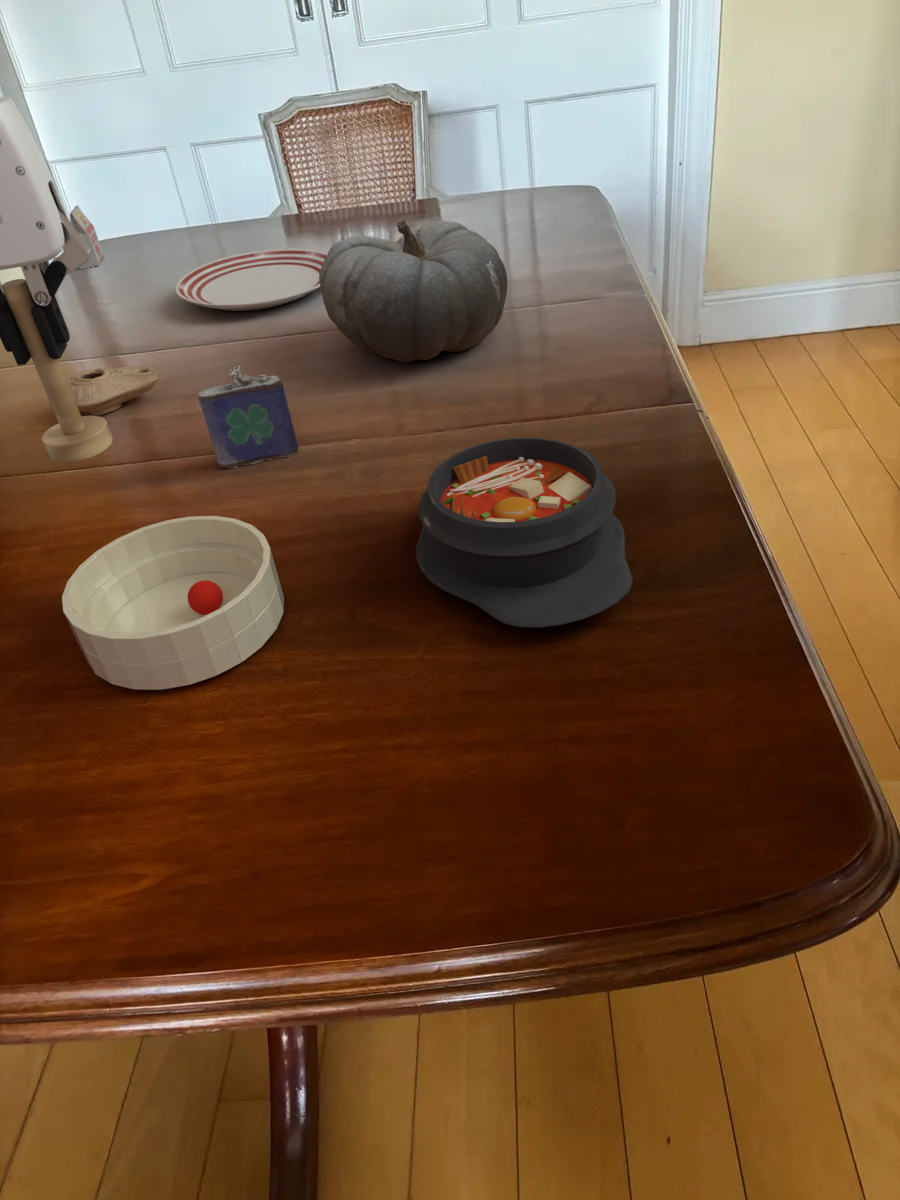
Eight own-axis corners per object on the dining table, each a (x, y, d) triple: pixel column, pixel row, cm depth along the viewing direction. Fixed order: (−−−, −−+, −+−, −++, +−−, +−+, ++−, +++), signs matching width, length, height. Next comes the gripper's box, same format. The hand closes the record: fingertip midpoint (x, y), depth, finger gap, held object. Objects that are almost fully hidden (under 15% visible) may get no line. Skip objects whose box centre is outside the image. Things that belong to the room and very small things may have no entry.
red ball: (191, 624, 78) (181, 596, 76) (194, 603, 80) (185, 576, 78) (225, 618, 78) (216, 591, 76) (228, 597, 80) (219, 570, 78)
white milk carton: (79, 269, 174) (60, 215, 168) (85, 259, 179) (67, 206, 173) (98, 266, 174) (80, 212, 168) (104, 256, 179) (86, 203, 173)
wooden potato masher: (43, 467, 72) (-32, 300, 64) (56, 438, 76) (-13, 277, 68) (107, 456, 72) (41, 287, 64) (117, 428, 76) (56, 266, 68)
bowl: (69, 711, 71) (39, 654, 68) (107, 585, 85) (84, 533, 81) (283, 675, 72) (266, 617, 68) (287, 556, 85) (272, 502, 82)
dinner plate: (361, 261, 158) (358, 241, 156) (316, 319, 137) (312, 297, 135) (217, 269, 163) (212, 250, 161) (152, 326, 142) (146, 306, 140)
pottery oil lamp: (167, 403, 116) (131, 369, 110) (91, 445, 118) (52, 414, 112) (159, 359, 121) (124, 323, 115) (85, 400, 123) (48, 367, 117)
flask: (218, 471, 101) (192, 382, 94) (218, 459, 103) (192, 371, 97) (300, 455, 102) (279, 366, 95) (298, 444, 104) (277, 356, 98)
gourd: (285, 338, 124) (282, 204, 114) (415, 310, 139) (422, 189, 129) (409, 397, 110) (418, 251, 100) (538, 358, 126) (556, 228, 116)
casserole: (383, 520, 89) (369, 445, 84) (554, 471, 93) (550, 396, 87) (475, 673, 69) (464, 587, 64) (685, 603, 73) (691, 517, 68)
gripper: (-218, 113, 55) (-76, 392, 66) (41, 73, 55) (139, 356, 67) (-168, 95, 61) (-45, 354, 72) (65, 60, 61) (151, 322, 73)
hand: (42, 353), depth 69 cm, fingers closed on wooden potato masher
